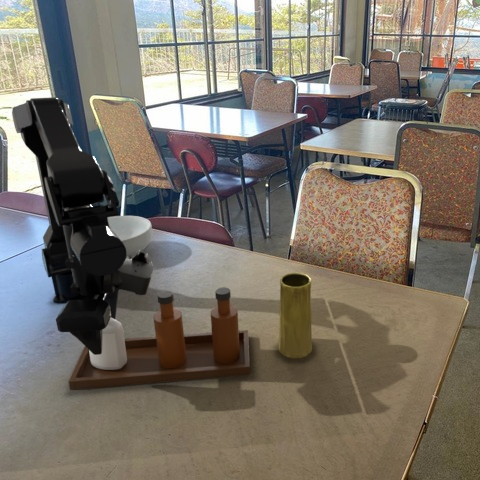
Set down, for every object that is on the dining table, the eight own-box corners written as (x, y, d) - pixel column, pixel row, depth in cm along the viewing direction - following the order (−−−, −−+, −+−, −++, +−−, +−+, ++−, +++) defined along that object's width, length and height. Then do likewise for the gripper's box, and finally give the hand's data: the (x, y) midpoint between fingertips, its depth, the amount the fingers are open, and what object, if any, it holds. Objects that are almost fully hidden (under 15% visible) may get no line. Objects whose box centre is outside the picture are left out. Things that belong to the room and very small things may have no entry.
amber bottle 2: (213, 365, 80) (208, 298, 75) (214, 349, 84) (209, 285, 79) (239, 363, 81) (236, 296, 76) (239, 347, 85) (236, 283, 80)
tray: (70, 392, 74) (68, 381, 74) (89, 351, 84) (87, 341, 83) (250, 377, 79) (249, 366, 78) (248, 339, 88) (247, 329, 88)
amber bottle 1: (157, 369, 79) (148, 302, 74) (161, 353, 83) (152, 288, 78) (185, 367, 80) (177, 300, 74) (187, 351, 84) (180, 286, 78)
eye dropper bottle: (105, 377, 76) (95, 310, 72) (88, 363, 80) (78, 298, 76) (130, 365, 80) (122, 300, 76) (113, 352, 83) (104, 289, 79)
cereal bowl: (95, 240, 127) (91, 215, 124) (160, 239, 129) (157, 214, 126) (72, 269, 112) (66, 241, 109) (146, 267, 113) (142, 240, 111)
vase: (286, 364, 82) (286, 291, 76) (272, 345, 87) (271, 275, 81) (318, 355, 85) (320, 284, 79) (303, 336, 90) (304, 268, 84)
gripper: (134, 274, 64) (148, 369, 70) (155, 223, 81) (164, 303, 87) (44, 279, 62) (66, 376, 68) (84, 225, 79) (99, 307, 85)
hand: (105, 336), depth 77 cm, fingers open, 9 cm apart
